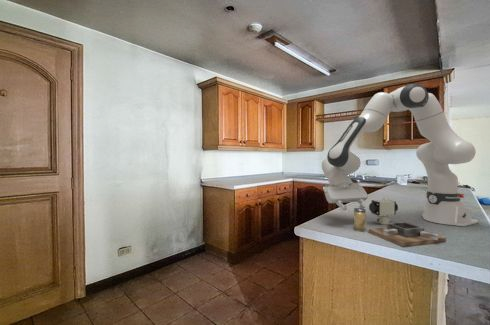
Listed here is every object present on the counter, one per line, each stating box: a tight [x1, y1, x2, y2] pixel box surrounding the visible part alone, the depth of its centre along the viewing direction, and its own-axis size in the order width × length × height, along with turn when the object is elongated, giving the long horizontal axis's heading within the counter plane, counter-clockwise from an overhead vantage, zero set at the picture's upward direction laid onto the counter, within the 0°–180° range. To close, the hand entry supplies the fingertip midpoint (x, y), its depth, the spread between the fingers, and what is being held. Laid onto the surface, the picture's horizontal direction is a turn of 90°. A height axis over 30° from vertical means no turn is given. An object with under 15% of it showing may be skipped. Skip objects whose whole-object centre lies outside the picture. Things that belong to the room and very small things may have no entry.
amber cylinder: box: [353, 207, 367, 232], centre depth 100 cm, size 4×4×9 cm
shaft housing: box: [368, 221, 447, 248], centre depth 91 cm, size 20×17×4 cm
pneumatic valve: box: [368, 198, 399, 226], centre depth 109 cm, size 6×12×12 cm, turn 98°
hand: (353, 209), depth 103 cm, fingers open, 8 cm apart
